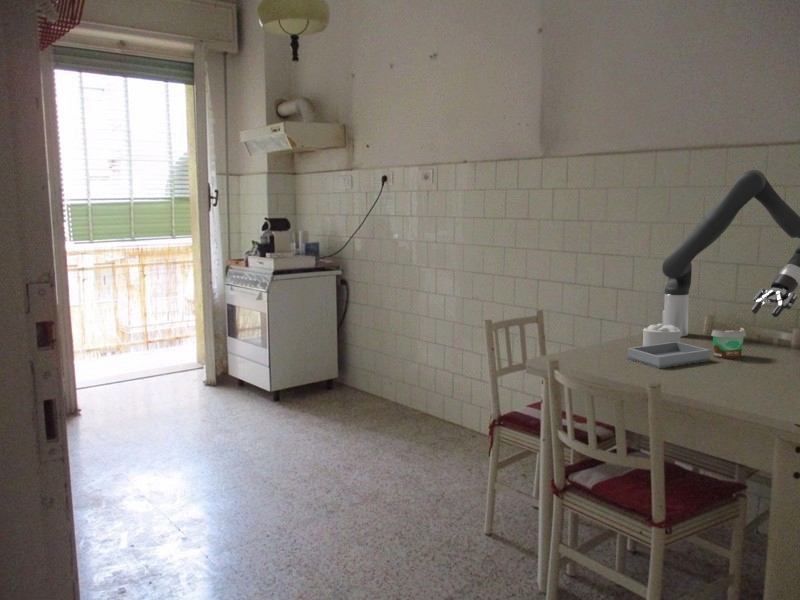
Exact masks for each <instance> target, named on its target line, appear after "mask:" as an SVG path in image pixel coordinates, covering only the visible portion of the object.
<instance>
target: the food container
mask: <svg viewBox="0 0 800 600" xmlns="http://www.w3.org/2000/svg"><path fill="white" fill-rule="evenodd" d="M710 336H712V342H713V344H712V345H713V356H714V358H716V357H717V358H716V359H720V358H724V359H723V360H738V358H739V359H741V358H742V351H743V345H744V337H746V336H747V332H746V330H745V329H744V327H740V328H739V329H736V330H732V329H726V330H722V331H721V330H715V329H712V331H711V335H710ZM740 357H741V358H740Z"/></svg>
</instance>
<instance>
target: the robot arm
mask: <svg viewBox="0 0 800 600" xmlns="http://www.w3.org/2000/svg"><path fill="white" fill-rule="evenodd" d="M753 198H754V199H755V200H757V201H758V202H759V203H760V204H761V205H762V206H763V207H764V209H765V210H766V211H767V212H768V213H769V215H770V216H771V218H772V219H773V221H774V222H775V223H776V224H777V225H778V227H779V228H781V230H782V231H784V232H785V234H786V235H787V236H789V237H790V238H793V239H795V238H797V239H800V215H798V213H797V212H796V211H795V210H794V209H793V208H792V207H791V206H789V204H787V203H786V201H785V200H783V198H781V196H780V195H779V194H778V193H777V192H776V190H775V189H774V187H772V185H771V183H770V182H769V180H768V179H767V177H766V176H765V174H764V173H763V172H762V171H760V170H756V169H750V170H747V171H744V172H743V173H742V174H740V175H739V176H738V178H737V180H736V181H735V183H733V185H732V187H731V188H730V189H729V191H728V193H727V194H726V195H725V196H724V197H723V198H722V199H721V200H720V201H719V202H718V203H717V204H715V206H714V207H713V208H711V209H710V210H709V211H708V213H707V214H705V215H704V217H702V219H701V220H699V222H698V223H697V225H696V226H695V227H694V228H693V229H692V231H690V233H689V234H688V236H687V237H686V238H685V239H684V241H682V244H680V245H679V246H678V247H677V248H676V249H675V250H674V251H673V252H672V253H670V255H668V256H667V257H666V258H665V259H664V261H663V263H662V266H661V267H662V268H661V270H662V274H664V275H665V277H667V278H668V279H667V283H666V285H665V287H664V305H663V306H664V310H662V317H661V318H662V322H661V324H664V325H673V326H675V327H676V328H678V330H680V331H681V333H680V335H681V337H680V338H683V337H688V336H689V335H688V333H689V302H690V301H689V299H690V298H689V297H690V296H689V295H690V294H689V293H690V289H691V284H692V274H693V273H692V271H693V270H692V269H693V268H692V267H693V266H692V261H693V260H694V258H696V257H697V255H699V254H700V253H701V252H703V251H704V250H706V249H707V248H708V247H709V246H711V245H712V244H714V242H716V241H717V239H719V238H720V236H722V235H723V233H724V232H725V231H726V230H727V229H728V228H729V226H731V224H732V222H733V221H734V219H735V218H736V216H737V215H738V213H739V212H740V211H741V209H742V208H743V207H745V205H747V204H748V203H749V202H750V201H751V200H752V199H753ZM799 286H800V243H799V244H798V245H797V247H796V248H795V251H794V253H793V254H792V257H790V259H789V261H788V262H787V263H786V264H785V266H783V268H782V269H781V270H780V272H778V274H777V276H775V279H773V281H772V282H771V286H770V288H768V289H765V288H764V287H762V288H760V289H759V290H758V292H757V293H756V294H755V295H754V297H753V298H752V301H753V302H754V304H753V306H752V307H751V313H752V314H754V315H756V314H757V313H759V310H760V309H761V308H762V306H764V305H766V304H767V305H768V304H770V303H775V304H778V305H776V307H775V308H774V309H773V311H772V312H771V315H772V317H774V318H778V317H779V316H780V314H781V313H782V312H783V311H785V309H787V310H790V309H791V308H792V307H793V306H794V303H795V302H796V300H797V299H798V296H797V294H796V293H795V291H796V290H797V288H798V287H799ZM766 298H767V299H766Z"/></svg>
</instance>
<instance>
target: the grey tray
mask: <svg viewBox="0 0 800 600" xmlns="http://www.w3.org/2000/svg"><path fill="white" fill-rule="evenodd" d="M628 358H629V359H632V360H634V361H633V362H635V361H638V362H637V363H639V362H641V363H640V364H642V363H644V364H643V365H645V364H647V365H646V366H648V365H650V366H649V367H652V366H653V368H655V367H656V368H655V369H658V368H661V369H666V368H665V367H668V368H671V367H670V366H674V367H678V365H681V366H685V365H684V364H688V365H692V364H691V363H694V364H699V362H701V363H706V362H710V361H711V349H709V348H705V347H704V348H703V347H700V346H696V345H691V344H688V343H684V342H681V341H680V342H670V343H662V344H655V345H648V346H643V345H642V346H640V345H639V346H633V347H628V348H627V359H628ZM629 359H628V360H629ZM632 360H631V361H632Z"/></svg>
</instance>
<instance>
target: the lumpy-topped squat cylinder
mask: <svg viewBox="0 0 800 600" xmlns="http://www.w3.org/2000/svg"><path fill="white" fill-rule="evenodd" d="M680 333H681V331H680V330H678V328H676V327H675V326H673V325H664V324H662V323H657V324H650V325H649V326H648V327H644V328H643V331H642V334H643V335H642V346H648V345H655V344H662V343H670V342H680V343H681V338H682V337H681V335H680Z"/></svg>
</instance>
